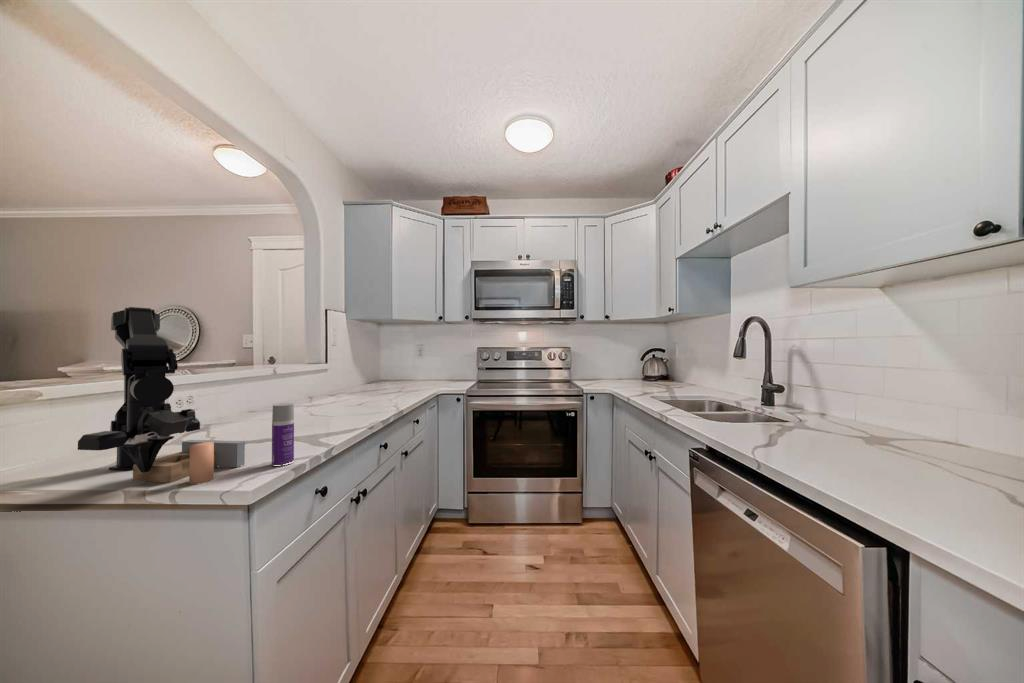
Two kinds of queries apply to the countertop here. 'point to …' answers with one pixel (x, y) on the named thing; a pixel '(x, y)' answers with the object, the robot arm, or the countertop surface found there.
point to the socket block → (166, 468)
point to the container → (282, 433)
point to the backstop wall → (223, 451)
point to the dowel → (201, 462)
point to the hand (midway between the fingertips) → (145, 472)
